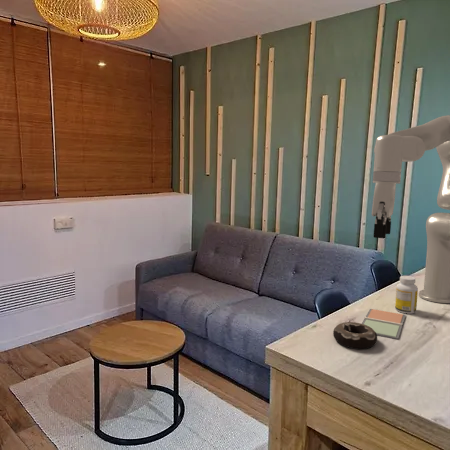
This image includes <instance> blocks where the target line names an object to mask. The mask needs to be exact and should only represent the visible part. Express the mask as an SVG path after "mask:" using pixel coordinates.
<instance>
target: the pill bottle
mask: <svg viewBox="0 0 450 450" xmlns="http://www.w3.org/2000/svg"><path fill="white" fill-rule="evenodd" d="M399 281H400V282H399V283H398V284H396V288H395V289H396V290H395V303H394V307H395V310H396V312H398V311H399V312H398V313H400V314H406V313H407V315H408V314H410V315H411V314H415V313H416V312H417V306H418V305H417V304H418V295H419V290H418V285H416V284H415V283H416V277H414V276H410V275H401V276H400V277H399Z"/></svg>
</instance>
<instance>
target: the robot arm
mask: <svg viewBox="0 0 450 450" xmlns="http://www.w3.org/2000/svg"><path fill="white" fill-rule="evenodd" d="M433 149H436V152H437V154H438V157H439V160H440V162H441V164H442V165H441V166H442V175H441V180H440V185H439V188H438V192H437V197H436V198H437V199H436V203H437V206H438V208H440V209H443V210H447V211H450V114H448V115H442V116H439V117H436V118H434V119H432V120H430V121H427V122H426V123H423V124H420V125H415V126H413V127H412V126H411V127H409V128H406V129H401V130H398V131H394V132H391V133H389V134H383V135H382V134H381V135H378V136H377V138H376V139H375V144H374V149H373V151H374V159H373V161H374V163H373V173H372V174H373V176H372V183H373V184H374V185H375V186H374V191H373V197H372V198H373V199H372V207H371V217H375V220H374V226H373V228H374V229H373V238H375V239H382V240H383V239H386V237H387V236H386V235H390V234H391V230H392V215H394V208H395V199H396V188H397V187H396V186H397V185H398V184H401V177H402V165H403V162H404V163H405V162H406V163H407V162H409V163H411V162H416V161H418V160H420V159H421V158H422V157H423V156H424V154H425V152H426V151H431V150H433ZM425 221H426V223H425V230H426V240H427V241H426V243H427V245H426V258H425V269H424V270H425V271H424V282H423V289H422V290H418V296H419V297H420V298H421V299H422V300H425V301H429V302H433V303H438V304H450V212H435V213H432V214H430V215H429V216H428V217H427V219H426V220H425Z"/></svg>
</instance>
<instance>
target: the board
mask: <svg viewBox="0 0 450 450" xmlns="http://www.w3.org/2000/svg"><path fill="white" fill-rule="evenodd" d="M405 319H406V314H405V313H399V312H398V313H397V312H392V311H385V310H380V309H376V308H375V309H374V308H369V311H368V312H367V313H366V315H365V316H364V319H363V320H362V322H361V324H364V325H367V326H369V327H371V328H372V329H373V330H374V331H375V332H376V334H377V337H384V338H388V339H393V340H399V338H400V336H401V331H402V328H403V326H404V323H403V322H405ZM402 325H403V326H402Z"/></svg>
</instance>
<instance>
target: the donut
mask: <svg viewBox="0 0 450 450" xmlns="http://www.w3.org/2000/svg"><path fill="white" fill-rule="evenodd" d="M332 336H333V337H334V340H335V341H336V342H337V343H339V344H340V345H342V346H344V347H346V348H349V349H356V350H364V349H365V350H366V349H370V348H372V347H373V346H375V345H376V344H377V342H378V335H377V334H376V332H375V331H374V330H373V329H372V328H371V327H369V326H367V325H364V324H362V322H361V323H360V322H356V321H355V322H353V321H345V322H341V323H339V324H337V325H336V326H335V327H334V329H333V334H332Z"/></svg>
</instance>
